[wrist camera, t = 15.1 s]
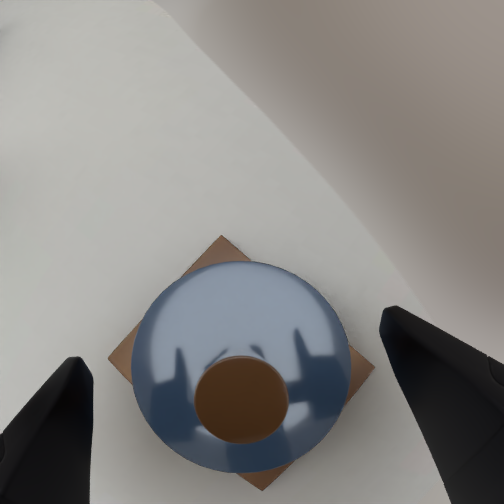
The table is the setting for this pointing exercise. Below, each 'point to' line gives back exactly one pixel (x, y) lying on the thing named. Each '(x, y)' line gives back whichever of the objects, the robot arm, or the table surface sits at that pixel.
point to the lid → (241, 367)
